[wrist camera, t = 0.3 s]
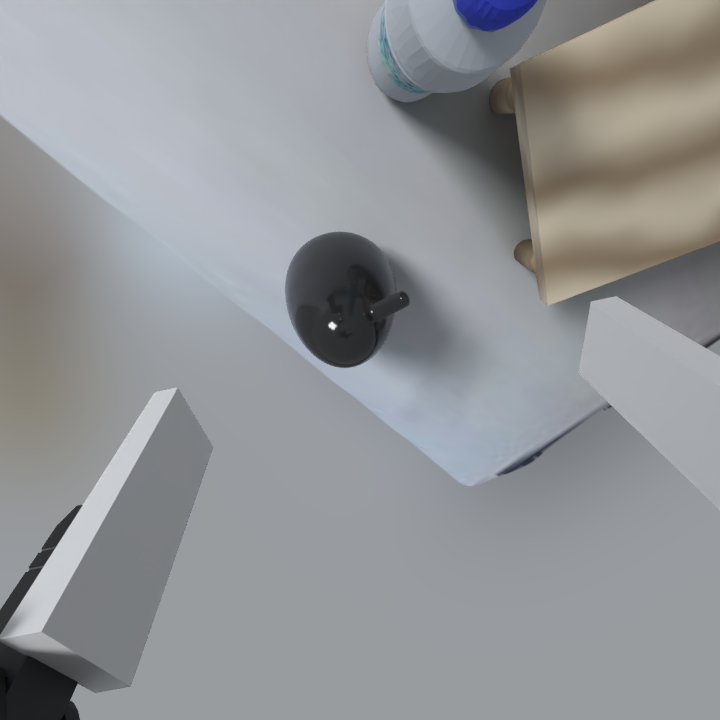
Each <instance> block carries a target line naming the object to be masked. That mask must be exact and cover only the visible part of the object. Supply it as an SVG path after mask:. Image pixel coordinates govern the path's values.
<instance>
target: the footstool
mask: <svg viewBox="0 0 720 720" xmlns="http://www.w3.org/2000/svg"><path fill="white" fill-rule="evenodd" d="M510 74H511V77H510V78H506V79H503V80H501V81H499V82H497V83H496V84H495V86H494V87H493V89H492V91H491V93H490V98H489V102H490V107H491V109H492V110H493V111H494V112H495V113H497V114H508V113H515V114H516V121H517V129H518V137H519V145H520V152H521V160H522V168H523V175H524V183H525V191H526V199H527V206H528V214H529V222H530V230H531V237H532V240H530V239H527V240H523V241H522V242H520V243H519V244H518V245H517V246H516V248H515V250H514V257H515V259H516V260H517V261H518V262H519V263H521V264H522V265H524V266H525V267H527V268H528V269H530V270H531V271H533V272H534V273H536V275H537V283H538V291H539V299H540V300H541V301H542V302H544V303H545V304H546V305H548V306H549V305H552V304H554V303H557V302H560V301H562V300H565V299H568V298H570V297H573V296H576V295H578V294H581V293H584V292H586V291H589V290H592V289H594V288H597V287H600V286H602V285H605V284H608V283H610V282H613V281H615V280H618V279H621V278H623V277H626V276H629V275H631V274H634V273H637V272H639V271H642V270H645V269H647V268H650V267H653V266H655V265H658V264H661V263H663V262H666V261H669V260H671V259H674V258H677V257H679V256H682V255H685V254H687V253H690V252H693V251H695V250H698V249H701V248H703V247H706V246H709V245H711V244H714V243H717V242H719V241H720V0H654V1H652V2H650V3H648V4H645V5H643V6H641V7H639V8H637V9H635V10H633V11H631V12H628V13H626V14H624V15H622V16H620V17H618V18H616V19H614V20H611V21H609V22H607V23H605V24H603V25H601V26H599V27H597V28H594V29H592V30H590V31H588V32H586V33H584V34H582V35H580V36H577V37H575V38H573V39H571V40H569V41H567V42H565V43H563V44H561V45H558V46H556V47H554V48H552V49H550V50H548V51H546V52H544V53H541V54H539V55H537V56H535V57H533V58H531V59H529V60H527V61H524V62H522V63H520V64H518V65H516V66H514V67H512V68H510Z"/></svg>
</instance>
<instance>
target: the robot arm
mask: <svg viewBox="0 0 720 720" xmlns="http://www.w3.org/2000/svg"><path fill="white" fill-rule="evenodd" d="M578 374H580V375H581V376H582V377H583V378H584V379H585V380H586V381H587V382H588V383H589V384H590V385H591V386H592V387H593V388H594V389H595V390H596V391H597V392H598V393H599V394H600V395H601V396H602V397H603V398H604V399H605V400H606V401H607V402H608V403H609V404H610V405H612V406H613V407H614V408H615V409H616V410H617V411H618V412H619V413H620V414H621V415H622V416H623V417H624V418H625V419H626V420H627V421H628V422H629V423H630V424H631V425H632V426H633V427H634V428H635V429H636V430H637V431H638V432H640V434H642V435H643V436H644V437H645V438H646V439H647V440H648V441H649V442H650V443H651V444H652V445H653V446H654V447H655V448H656V449H657V450H658V451H659V452H660V453H661V454H662V455H663V456H664V457H666V459H667V460H668V461H669V462H670V463H672V465H674V466H675V467H676V468H677V469H678V470H679V471H680V472H681V473H682V474H683V475H684V476H685V477H686V478H687V479H688V480H689V481H690V482H691V483H692V484H693V485H694V486H695V487H696V488H697V489H698V490H699V491H700V492H701V493H702V494H703V495H704V496H706V497H707V498H708V499H709V500H710V501H711V502H712V503H713V504H714V505H715V506H716V507H717V508H718V509H719V510H720V356H718V355H717V354H715V353H713V352H712V351H710V350H708V349H706V348H705V347H703V346H701V345H700V344H698V343H696V342H694V341H693V340H691V339H689V338H687V337H686V336H684V335H682V334H681V333H679V332H677V331H675V330H674V329H672V328H670V327H668V326H667V325H665V324H663V323H662V322H660V321H658V320H656V319H655V318H653V317H651V316H649V315H648V314H646V313H644V312H643V311H641V310H639V309H637V308H636V307H634V306H632V305H630V304H629V303H627V302H625V301H624V300H622V299H620V298H618V297H617V296H615V297H610V298H605V299H600V300H596V301H591V304H590V310H589V316H588V321H587V327H586V333H585V338H584V344H583V350H582V355H581V361H580V367H579V372H578ZM212 449H213V446H212V444H211V442H210V441H209V439H208V437H207V436H206V434H205V432H204V431H203V429H202V427H201V425H200V424H199V422H198V420H197V419H196V417H195V415H194V414H193V412H192V411H191V409H190V407H189V405H188V404H187V402H186V400H185V399H184V397H183V395H182V394H181V392H180V390H179V389H178V388H173V389H168V390H164V391H159V392H155V393H154V394H153V396H152V397H151V399H150V401H149V402H148V404H147V405H146V407H145V408H144V410H143V412H142V413H141V415H140V416H139V418H138V419H137V421H136V423H135V424H134V426H133V427H132V429H131V430H130V432H129V434H128V435H127V437H126V438H125V440H124V441H123V443H122V445H121V446H120V448H119V449H118V451H117V452H116V454H115V455H114V457H113V459H112V460H111V462H110V464H109V465H108V467H107V469H106V470H105V471H104V473H103V474H102V476H101V477H100V479H99V481H98V482H97V484H96V485H95V487H94V488H93V490H92V492H91V493H90V495H89V497H88V498H87V500H86V501H85V503H84V504H83V505H79V506H76V507H75V508H74V509H73V510H72V511H71V512H70V513H69V514H68V515H67V516H66V517H65V518H64V519H63V520H62V521H61V522H60V523H59V524H58V525H57V526H56V528H55V529H54V531H53V532H52V534H51V535H50V537H49V538H48V540H47V541H46V543H45V544H44V546H43V547H42V552H41V553H38V555H37V556H36V558H35V559H34V561H33V562H32V564H31V565H30V566H29V571H28V572H26V573H25V574H24V576H23V577H22V578H21V580H20V582H19V583H18V584H17V586H16V587H15V589H14V590H13V592H12V593H11V595H10V596H9V598H8V599H7V601H6V602H5V604H4V605H3V607H2V608H1V610H0V720H80V718H79V713H78V710H77V708H76V706H75V704H74V703H73V702H72V701H70V699H71V697H72V695H73V692H74V690H75V688H76V686H77V683H78V684H80V685H81V686H84V687H85V688H87V689H89V690H91V691H93V692H95V693H97V692H102V691H108V690H113V689H119V688H125V687H130V686H131V684H132V681H133V678H134V676H135V672H136V670H137V667H138V664H139V661H140V658H141V655H142V652H143V649H144V646H145V644H146V641H147V638H148V635H149V632H150V629H151V626H152V623H153V620H154V617H155V614H156V612H157V609H158V606H159V603H160V600H161V597H162V594H163V591H164V588H165V586H166V582H167V580H168V577H169V574H170V571H171V568H172V565H173V562H174V560H175V557H176V554H177V551H178V548H179V545H180V542H181V539H182V536H183V534H184V531H185V528H186V525H187V522H188V519H189V516H190V513H191V510H192V507H193V505H194V501H195V499H196V496H197V493H198V490H199V487H200V484H201V481H202V478H203V476H204V473H205V470H206V467H207V464H208V461H209V458H210V455H211V452H212Z"/></svg>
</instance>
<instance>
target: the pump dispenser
mask: <svg viewBox="0 0 720 720" xmlns="http://www.w3.org/2000/svg"><path fill="white" fill-rule="evenodd" d="M285 295H286V304H287V309H288V313H289V317H290V320H291V323H292V325H293V327H294V330H295V332H296V333H297V335H298V337H299V338H300V340H301V341H302V343H303V344H304V345H305V346H306V348H307V349H308V350H309V351H310V352H311V353H312V354H313V355H314V356H315V357H317V358H318V359H319V360H321V361H323V362H324V363H326V364H329V365H331V366H335V367H340V368H350V367H355V366H358V365H361V364H363V363H365V362H367V361H368V360H370V359H371V358H372V357H373V356H374V355H375V354H376V353H377V352H378V351H379V350H380V349H381V347H382V346H383V344H384V342H385V341H386V339H387V337H388V334H389V332H390V329H391V326H392V323H393V320H394V316H395V312H397V311H399V310H401V309H403V308H404V307H406V306H408V305H409V303H410V299H409V296H408V295H407V293H405V292H403V291H401V292H398V293H396V283H395V277H394V273H393V270H392V267H391V265H390V263H389V261H388V259H387V258H386V256H385V255H384V253H383V252H382V251H381V250H380V249H379V248H378V247H377V246H376V245H375V244H374V243H373V242H371V241H370V240H368V239H366V238H364V237H362V236H360V235H357V234H353V233H348V232H332V233H327V234H323V235H320V236H318V237H315V238H313V239H312V240H310V241H309V242H307V243H306V244H305V245H303V246H302V247H301V248H300V249H299V250H298V252H297V253H296V254H295V256H294V257H293V259H292V261H291V263H290V265H289V268H288V271H287V275H286V282H285Z"/></svg>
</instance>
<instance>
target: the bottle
mask: <svg viewBox="0 0 720 720" xmlns="http://www.w3.org/2000/svg"><path fill="white" fill-rule="evenodd" d="M545 3H546V0H385V1H384V2H383V4H382V5H381V7H380V8H379V10H378V12H377V14H376V15H375V18H374V20H373V22H372V25H371V28H370V32H369V37H368V43H367V59H368V63H369V67H370V71H371V74H372V76H373V79H374V81H375V83H376V85H377V87H378V88H379V89H380V90H381V91H382V92H383V93H384V94H386V95H387V96H389V97H390V98H392V99H395V100H397V101H400V102H413V101H417V100H420V99H423V98H425V97H427V96H429V95H430V94H432V93H433V92H434V93H452V92H460V91H464V90H467V89H469V88H472V87H474V86H476V85H478V84H479V83H481V82H482V81H484V80H485V79H487V78H488V77H489V76H490V75H491V74H492V73H493V72H494V71H495V70H497V69H498V68H499V67H500V66H501V65H503V64H504V63H505V62H506V61H508V60H509V59H510V58H511V57H513V56H514V55H515V54H516V53H517V52H518V51H519V49H520V48H521V47H522V46H523V44H524V43H525V42H526V41H527V39H528V37H529V36H530V34H531V33H532V31H533V29H534V28H535V26H536V25H537V22H538V20H539V18H540V16H541V13H542V11H543V9H544V6H545Z"/></svg>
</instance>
